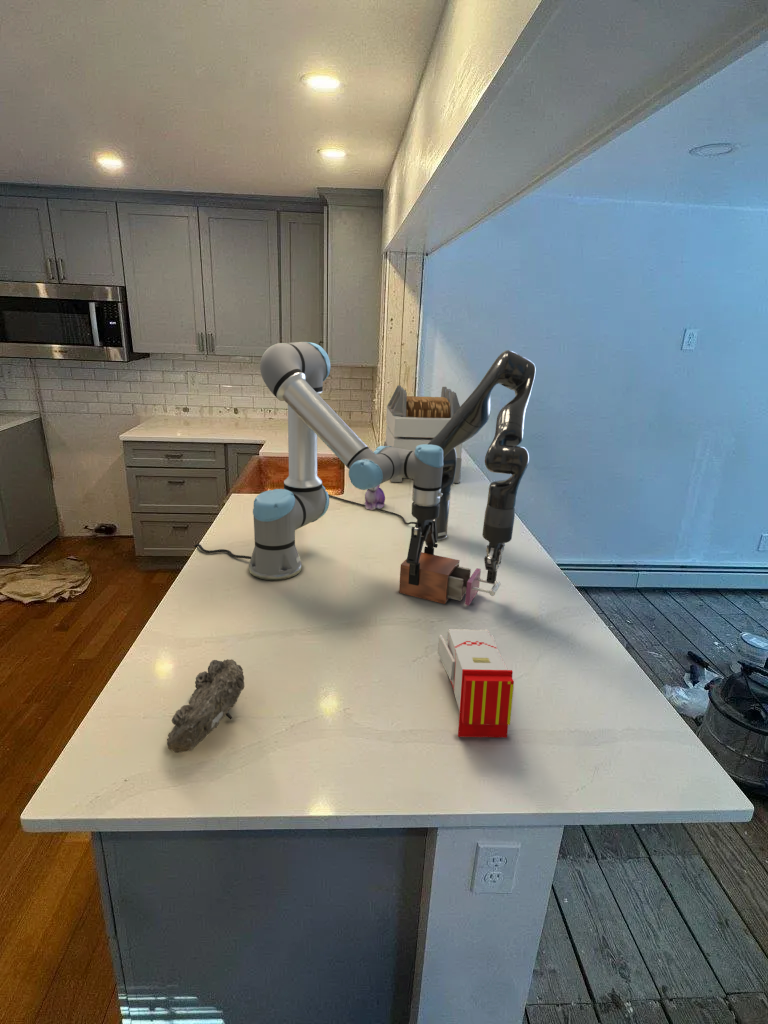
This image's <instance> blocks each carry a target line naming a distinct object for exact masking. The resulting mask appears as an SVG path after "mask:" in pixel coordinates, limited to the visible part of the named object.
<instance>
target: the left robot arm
mask: <svg viewBox="0 0 768 1024" xmlns="http://www.w3.org/2000/svg"><path fill="white" fill-rule="evenodd" d="M259 370H260V376H261V377H262V381H263V383H264V384H265V386H266V387H267V389H268V390H269V391H270V392H271V393H272V395H274V397H275V398H276V400H278V401H280V402H285V403H286V404H287V445H288V447H287V448H288V449H287V450H288V476H287V477H286V478H285V479H284V480H283V488H274V489H268V490H264V491H262V492H260V493H259V494H258V495H257V496H256V497H255V498H254V500H253V507H252V515H253V533H254V548H253V551H252V554H251V556H250V555H242V554H234V553H232V551H231V550H229V549H225V548H220V549H212V550H211V549H210V550H209V549H208V550H207V549H205V548H204V547H203V546H202V544H200V543H196V544H195V545H194V546H193V547H194V548H199V550H201V552H203V553H206V554H215V553H226V554H229V556H231V557H232V558H235V559H245V560H249V564H248V569H249V570H248V571H249V573H250V575H252V576H253V577H255V578H257V579H259V580H265V581H282V580H288V579H290V578H293V577H295V576H297V575H298V574H300V573H301V571H302V559H301V556H300V554H299V551H298V549H297V546H296V531H297V530H298V529H301V528H302V527H304V526H306V525H308V524H310V523H314V522H316V521H318V520H319V519H321V518H322V517H323V516H324V515H325V514H326V513H327V511H328V509H329V506H330V496H329V495H330V494H329V492H328V491H327V490H326V487H325V486H324V485H323V480H322V479H321V478H320V477H319V476H318V438H319V439H320V440H321V441H322V443H324V444H325V445H326V446H327V447H328V448H329V449H330V451H331V452H332V453H333V454H334V455H335V456H336V457H337V458H338V459H339V460H340V461H341V463H343V465H344V466H346V468H347V469H348V478H349V480H350V483H351V484H352V486H353V487H355V488H356V489H358V490H362V491H367V489H370V488H374V487H376V486H378V485H380V486H381V485H382V484H383V483H386V482H388V481H391V480H390V479H392V478H394V477H396V476H398V477H402V478H404V479H410V480H412V481H413V482H412V483H413V484H412V495H411V500H412V503H411V513H410V514H411V516H412V517H413V518H414V519H416V522H417V523H416V524H414V526H412V527H411V532H410V539H409V540H410V541H409V545H408V552H407V556H406V557H407V558H406V559H407V560H406V559H405V560H406V562H407V563H409V564H410V566H409V582H408V584H412V585H416V586H418V585H419V571H420V563H419V559H420V555H421V552H423V553H428V554H432V555H435V548H436V549H437V548H438V546H439V545H438V541H437V522H436V521H437V518H438V517H439V509H440V505H439V502H440V497H441V496H442V493H441V482H442V472H443V465H444V463H443V449H442V448H441V447H439V446H437V445H431V444H430V445H428V444H421V445H418V446H417V447H416V449H415V451H411V450H405V449H400V448H394V447H392V446H384V445H379V446H377V447H376V448H375V450H374V451H373V450H372V449H371V448H370V447H369V446H368V445H367V444H366V443H365V442H364V441H363V440H362V439H361V437H360V436H358V435H357V434H356V432H354V430H353V429H352V428H351V427H350V426H349V425H348V424H347V423H346V422H345V421H344V420H343V419H342V417H340V415H339V414H338V413H337V412H336V411H335V410H334V409H333V408H332V407H331V406H330V405H329V404H328V403H327V402H326V401H325V400H324V399H323V398H322V397H321V394H322V393H323V392H324V389H323V387H324V386H323V385H324V382H325V381H326V380H327V378H328V377H329V376H330V372H331V360H330V357H329V355H328V353H327V351H326V350H325V349H324V348H323V347H322V346H321V345H319V344H317V343H315V342H310V341H296V342H277V343H275V344H273V345H271V346H269V347H267V349H266V350H265V351H264V352H263V354H262V356H261V358H260V361H259ZM328 494H329V495H328ZM421 536H424V537H421ZM424 543H425V546H424ZM423 548H424V549H423Z"/></svg>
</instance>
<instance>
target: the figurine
mask: <svg viewBox="0 0 768 1024" xmlns="http://www.w3.org/2000/svg"><path fill="white" fill-rule="evenodd" d="M380 486H381V484H380V485H378V486H376V487H374V488H370V489H367V490H365V491H366V492H365V494H364V503H363V504H364V505H366V507H365V506H364V507H365V509H366V510H372V511H373V510H376V509H375V508H379V509H382V508H384V507H385V502H386V495H385V493H384V490H383V489H382V488H381V487H380Z"/></svg>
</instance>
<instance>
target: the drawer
mask: <svg viewBox="0 0 768 1024" xmlns="http://www.w3.org/2000/svg"><path fill="white" fill-rule="evenodd" d="M471 571H472V568H469V567H463V566H460V565H459V566H457V567H456V568H455V569H454V571H453V572H452V573H451V574H450V576H449V577H448V589H447V598H449V599H451V600H456V601H459V602H461V601H462V600H463V598H464V597H465V598H464V605H465V606H470V605H471V604H472V602H473V600H474V599H475V597H476V595H478V592H482V593H486V594H489V595H490V596H492V597H493V596H495V595H496V593H497V591H498V589H499V588H500V586H501V581H499V580H496V581H495V582H494V583H489V582H487V579H484V578H483V579H482V578H481V573H482V569H481V568H475V570H474V571H473V573H472V572H471ZM471 573H472V574H471ZM480 583H484V584H489V585H492V587H491V589H490V590H489V589H485V588H481V587H480Z"/></svg>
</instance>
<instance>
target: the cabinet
mask: <svg viewBox="0 0 768 1024" xmlns="http://www.w3.org/2000/svg"><path fill="white" fill-rule="evenodd" d="M406 560H407V558H405V560H403V561H402V563H400V570H399V588H398V593H399V594H403V595H406V596H410V597H415V598H419V599H423V600H426V601H431V602H435V603H439V604H443V605H446V604H447V602H448V601H449V600H450V598H447V589H448V577H449V576H450V574H451V573H452V572H453V571H454V569H455V568H456V567H457V566H460V559H455V558H450V557H446V556H441V555H436V554H434V555H432V554H428V553H424V551H421V555H420V559H419V563H420V571H419V585H418V586H416V585H412V584H408V582H409V566H410V564H409V563H407V562H406Z"/></svg>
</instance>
